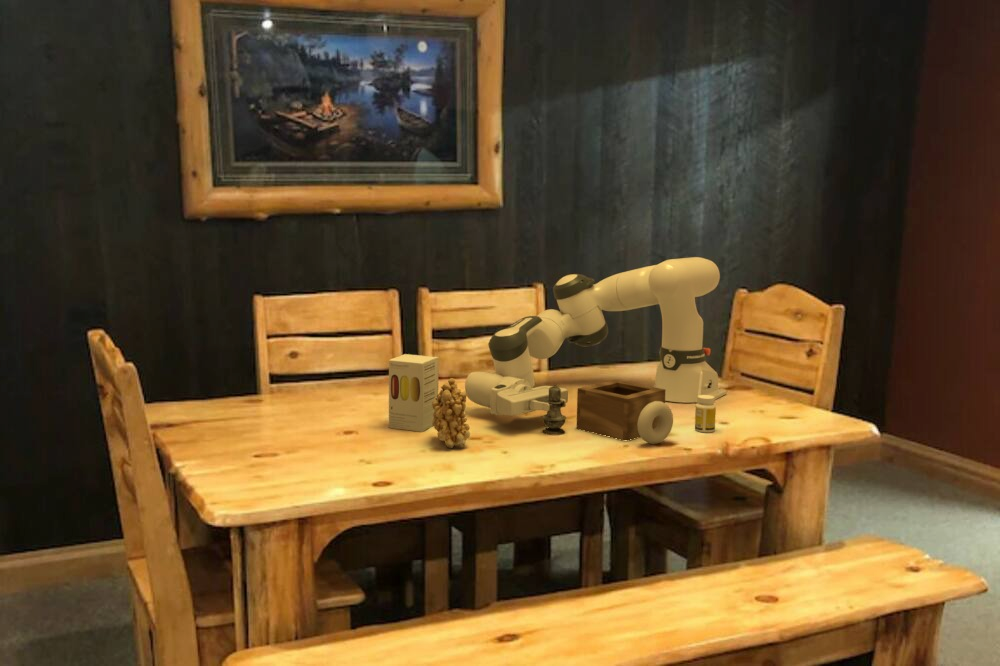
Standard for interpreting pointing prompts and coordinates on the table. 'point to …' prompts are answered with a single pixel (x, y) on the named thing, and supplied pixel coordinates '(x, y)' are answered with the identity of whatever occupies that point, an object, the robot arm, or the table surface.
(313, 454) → the table surface
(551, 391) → the salt shaker
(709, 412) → the supplement bottle
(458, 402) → the mineral formation
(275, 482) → the table surface
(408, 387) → the supplement box
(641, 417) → the donut
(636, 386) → the box
